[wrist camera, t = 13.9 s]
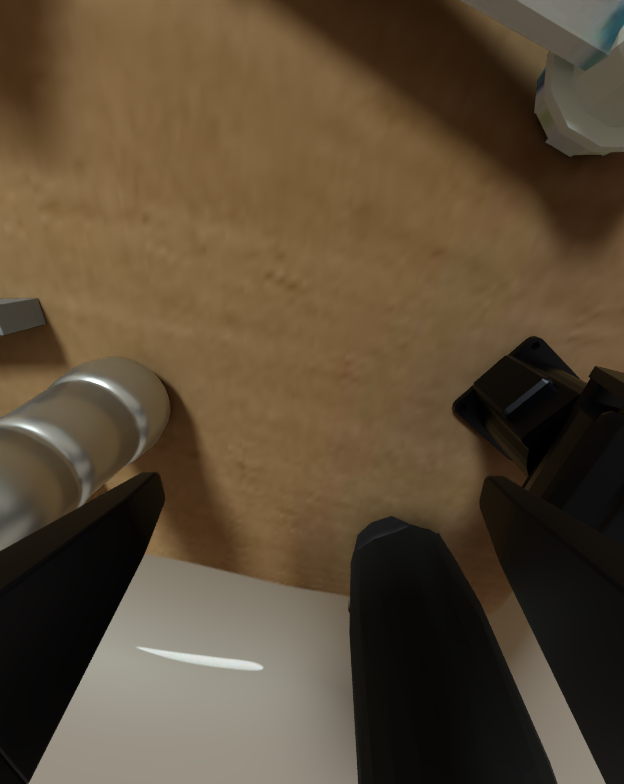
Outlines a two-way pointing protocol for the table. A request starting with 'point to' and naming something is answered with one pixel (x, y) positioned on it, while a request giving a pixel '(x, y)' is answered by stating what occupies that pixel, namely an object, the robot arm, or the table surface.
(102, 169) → the table surface
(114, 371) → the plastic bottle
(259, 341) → the table surface
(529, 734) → the portable speaker
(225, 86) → the table surface
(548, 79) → the grey piece
